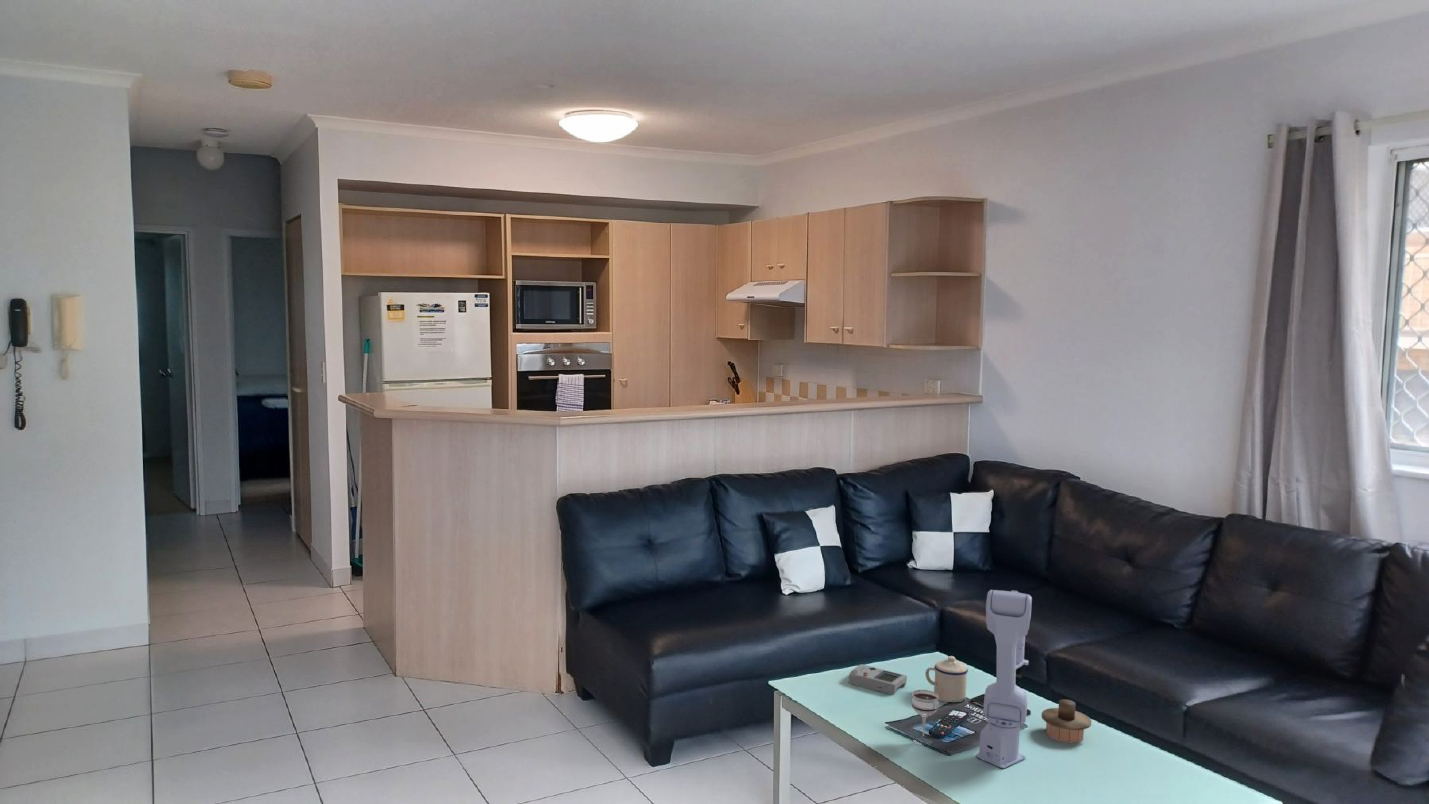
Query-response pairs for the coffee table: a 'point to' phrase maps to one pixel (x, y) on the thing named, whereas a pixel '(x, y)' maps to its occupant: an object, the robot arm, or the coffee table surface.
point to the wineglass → (924, 704)
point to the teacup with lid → (949, 679)
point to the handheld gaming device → (877, 679)
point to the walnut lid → (1066, 716)
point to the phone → (980, 700)
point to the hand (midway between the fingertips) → (1010, 693)
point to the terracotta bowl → (1064, 734)
